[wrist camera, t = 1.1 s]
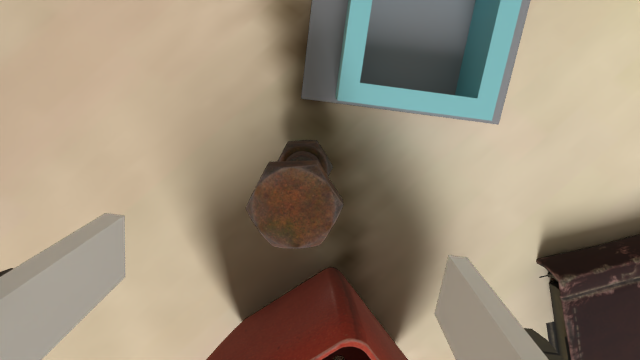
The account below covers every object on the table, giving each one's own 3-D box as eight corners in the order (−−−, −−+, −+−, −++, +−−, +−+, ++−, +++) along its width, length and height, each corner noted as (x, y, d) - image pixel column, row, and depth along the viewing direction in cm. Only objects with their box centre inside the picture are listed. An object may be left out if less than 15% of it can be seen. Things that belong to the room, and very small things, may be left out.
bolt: (314, 193, 37) (309, 267, 22) (269, 170, 36) (233, 231, 22) (342, 142, 35) (356, 186, 21) (296, 117, 35) (276, 145, 20)
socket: (302, 97, 34) (297, 101, 28) (319, -60, 31) (318, -95, 25) (491, 122, 35) (528, 132, 29) (529, -30, 31) (580, -57, 25)
